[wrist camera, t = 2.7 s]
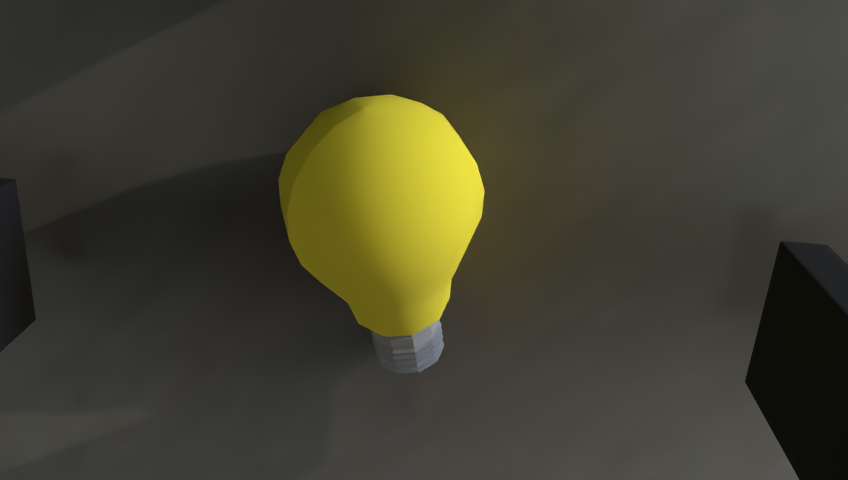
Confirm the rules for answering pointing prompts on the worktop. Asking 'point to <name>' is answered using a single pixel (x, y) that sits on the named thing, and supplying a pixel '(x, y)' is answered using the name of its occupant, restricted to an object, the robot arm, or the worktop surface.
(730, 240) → the worktop surface
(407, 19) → the worktop surface
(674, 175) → the worktop surface
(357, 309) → the light bulb
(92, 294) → the worktop surface
